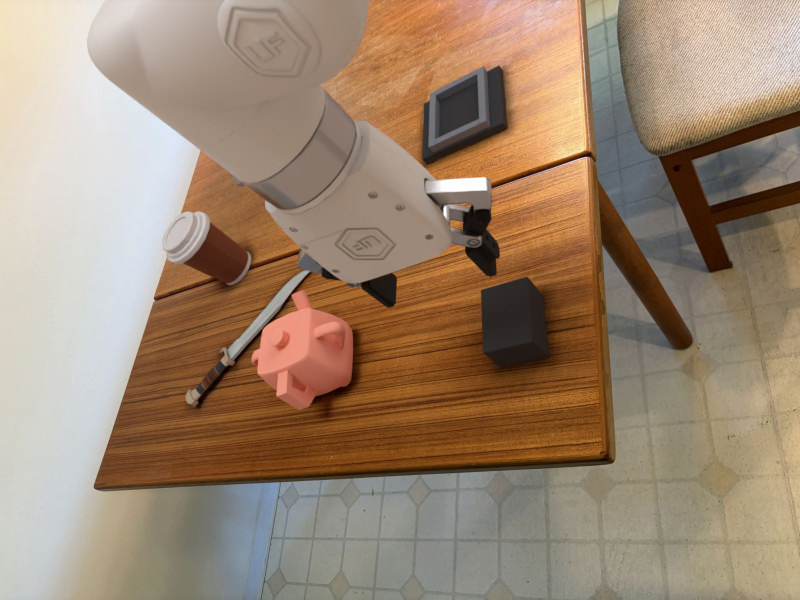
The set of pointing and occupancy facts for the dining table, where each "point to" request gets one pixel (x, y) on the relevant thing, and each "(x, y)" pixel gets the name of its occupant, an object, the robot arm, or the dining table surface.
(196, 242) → the coffee cup
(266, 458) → the dining table surface
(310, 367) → the teapot
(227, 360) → the knife
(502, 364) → the black block
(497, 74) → the base pad
